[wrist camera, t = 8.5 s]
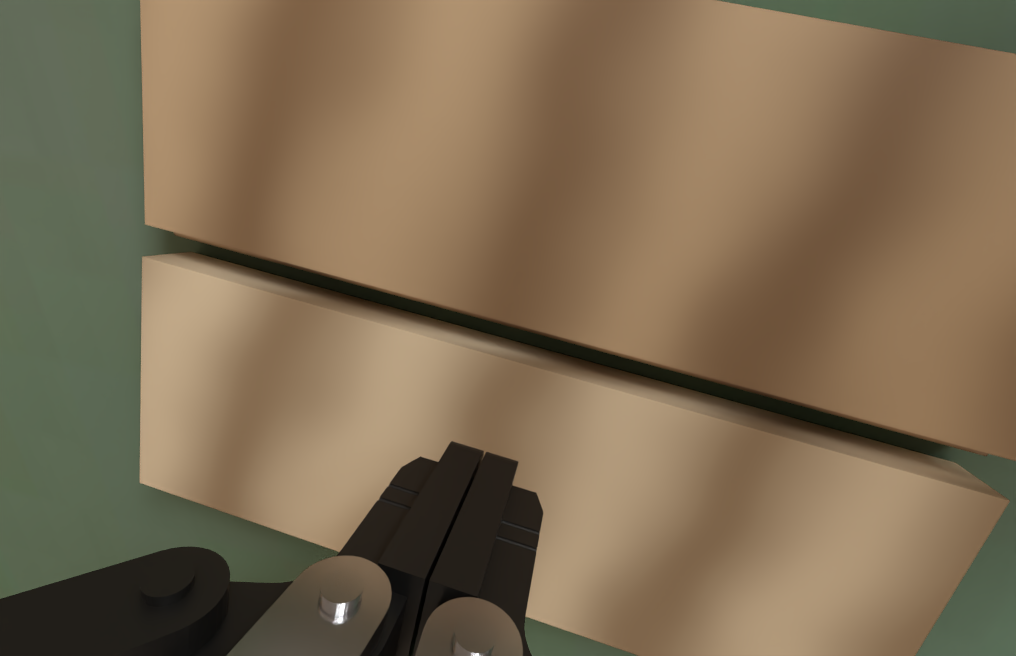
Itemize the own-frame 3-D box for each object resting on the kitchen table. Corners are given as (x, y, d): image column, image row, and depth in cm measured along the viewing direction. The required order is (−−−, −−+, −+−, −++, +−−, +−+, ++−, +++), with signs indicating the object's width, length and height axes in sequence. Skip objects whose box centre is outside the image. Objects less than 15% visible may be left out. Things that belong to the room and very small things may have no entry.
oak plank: (955, 462, 13) (1009, 500, 11) (835, 675, 15) (866, 734, 13) (191, 251, 16) (142, 256, 14) (183, 456, 18) (139, 482, 16)
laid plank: (1160, 115, 10) (1269, 99, 9) (964, 441, 13) (1018, 478, 11) (198, -65, 13) (138, -103, 11) (194, 232, 16) (145, 237, 14)
